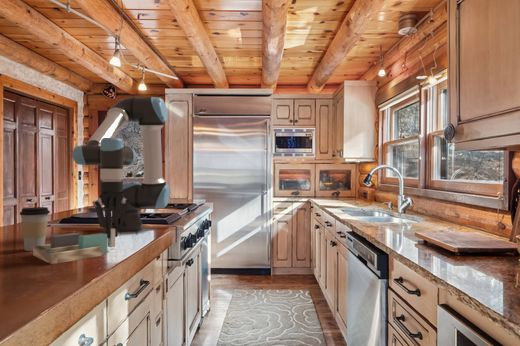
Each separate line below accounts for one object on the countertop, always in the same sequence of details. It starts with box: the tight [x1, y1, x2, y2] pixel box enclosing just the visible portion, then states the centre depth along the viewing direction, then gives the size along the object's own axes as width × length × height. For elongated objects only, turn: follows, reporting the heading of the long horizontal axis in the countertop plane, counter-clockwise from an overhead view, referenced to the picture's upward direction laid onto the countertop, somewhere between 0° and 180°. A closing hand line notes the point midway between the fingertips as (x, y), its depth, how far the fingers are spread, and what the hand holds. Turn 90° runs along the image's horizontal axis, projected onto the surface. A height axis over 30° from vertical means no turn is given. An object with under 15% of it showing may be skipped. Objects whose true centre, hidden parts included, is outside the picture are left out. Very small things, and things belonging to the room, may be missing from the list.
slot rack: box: [32, 243, 104, 265], centre depth 117 cm, size 16×18×3 cm
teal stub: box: [78, 232, 108, 254], centre depth 120 cm, size 8×4×6 cm, turn 139°
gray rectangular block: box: [50, 232, 81, 248], centre depth 120 cm, size 8×4×6 cm, turn 139°
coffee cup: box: [18, 206, 51, 252], centre depth 126 cm, size 9×9×15 cm
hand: (111, 246), depth 124 cm, fingers closed
